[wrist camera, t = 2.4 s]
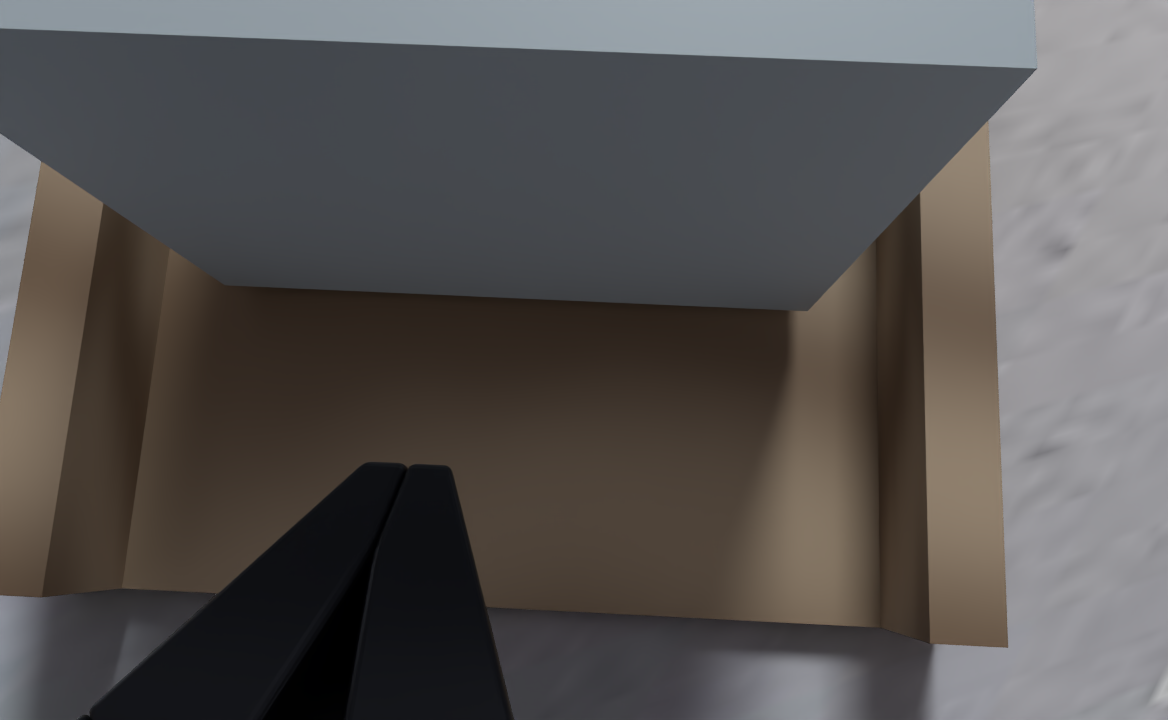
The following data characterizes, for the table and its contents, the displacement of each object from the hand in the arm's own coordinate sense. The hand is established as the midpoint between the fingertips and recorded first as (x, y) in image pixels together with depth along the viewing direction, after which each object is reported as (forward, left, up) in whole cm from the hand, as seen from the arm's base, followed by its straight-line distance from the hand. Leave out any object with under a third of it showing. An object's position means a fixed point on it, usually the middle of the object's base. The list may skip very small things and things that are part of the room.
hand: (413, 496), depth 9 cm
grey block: (+6, 0, -8) cm, 10 cm away
